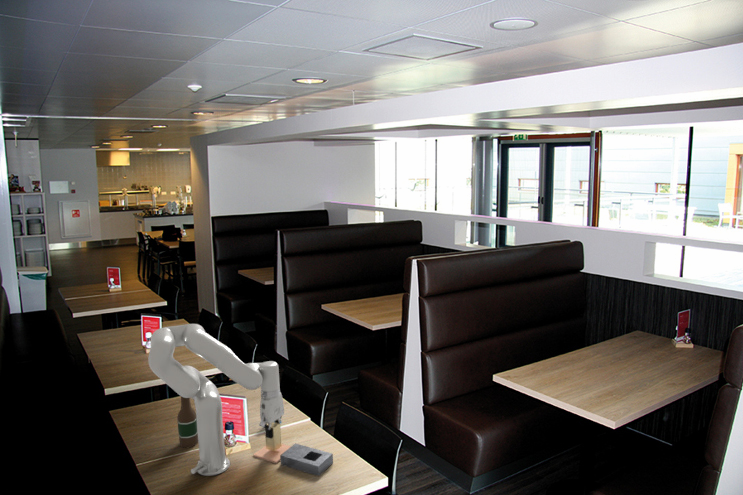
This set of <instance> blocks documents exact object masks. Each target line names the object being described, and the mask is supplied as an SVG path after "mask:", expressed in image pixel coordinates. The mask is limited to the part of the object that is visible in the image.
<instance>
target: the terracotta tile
mask: <svg viewBox="0 0 743 495" xmlns="http://www.w3.org/2000/svg"><path fill="white" fill-rule="evenodd" d="M281 445H282V446H281V447H280V448H279V449H277V450H276V451H272V450H268V449H266V445H264V446H263V447H262V448H260V449H259V450H257V451H256V452H254V453H253V456H252V457H254V458H257V459H261V460H264V461H267V462H270V463H274V464H278V463H280V462H281V460H280V455H281V454H282V453H284V452H285V451H286V450H288V449H289V448H290V447H292V446H293V445H288V444H284V443H281Z"/></svg>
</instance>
